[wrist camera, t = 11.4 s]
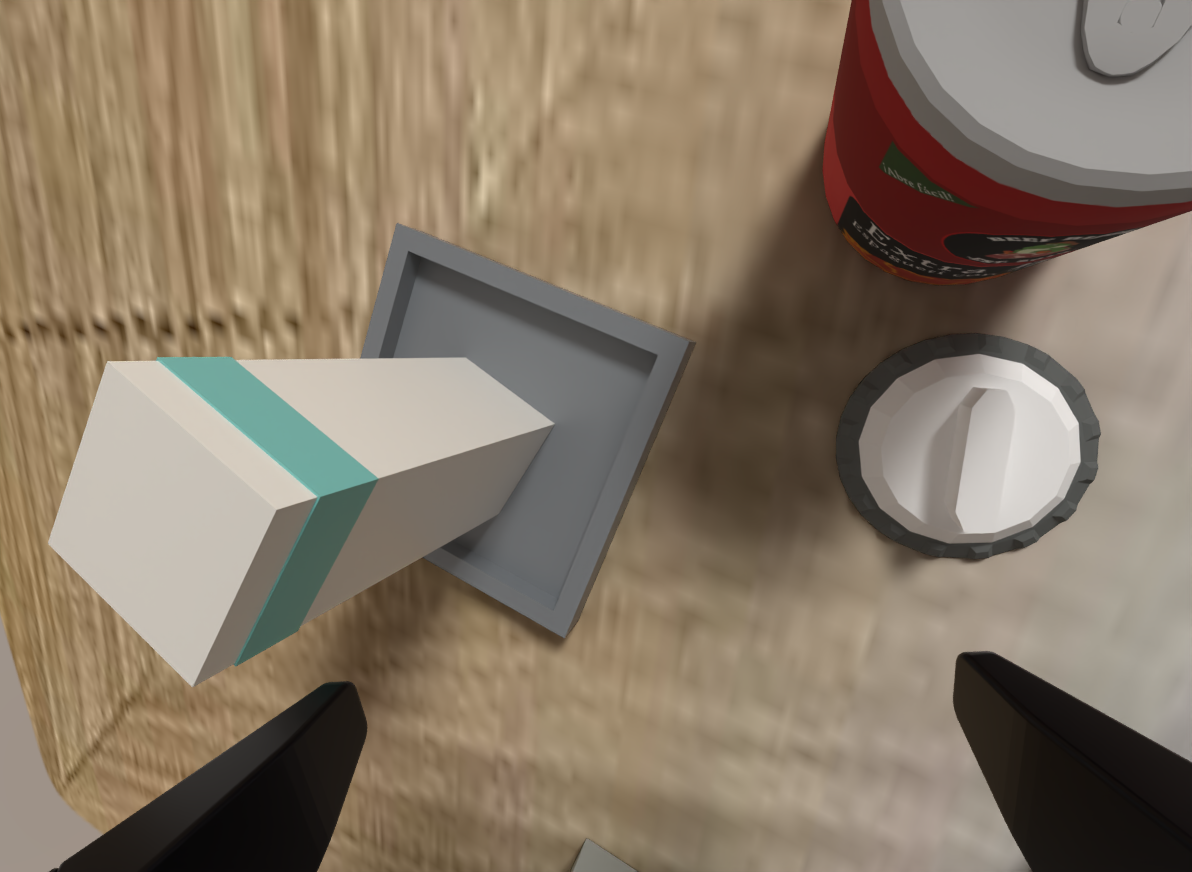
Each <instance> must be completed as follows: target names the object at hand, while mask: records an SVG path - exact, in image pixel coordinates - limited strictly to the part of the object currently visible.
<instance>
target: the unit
mask: <svg viewBox="0 0 1192 872" xmlns="http://www.w3.org/2000/svg"><path fill="white" fill-rule="evenodd" d="M570 872H638V871H636V870H635V869H633V868H632V867H630V866H629V865H627V864H625V863H624V862H622V861H621V860H619V859H618V858H616V857H615V856H613V855H612V854H610V853H609V852H607V851H606V850H604V849H603V848H601V847H600V846H598V845H597V844H595V843H593V842H592V841H590V840H589V839H587V838H586V840H585V842H584V844H583V846H582V848H581V851H580V853H579V855H578V857H577V859H576V861H575V863H574V865H573V867H572V869H571V871H570Z"/></svg>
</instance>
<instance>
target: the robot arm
mask: <svg viewBox="0 0 1192 872" xmlns="http://www.w3.org/2000/svg"><path fill="white" fill-rule="evenodd" d="M953 704H954V710H955V713H956V716H957V719H958V721H959V723H960V725H961V727H962V730H963V732H964V734H965V736H966V738H967V740H968V742H969V745H970V747H971V749H972V751H973V753H974V755H975V758H976V760H977V762H978V764H979V766H980V768H981V770H982V773H983V775H984V777H985V779H986V781H987V783H988V786H989V788H990V790H991V792H992V794H993V796H994V799H995V801H996V803H997V805H998V807H999V809H1000V811H1001V814H1002V816H1003V818H1004V820H1005V822H1006V824H1007V826H1008V828H1009V830H1010V832H1011V834H1012V836H1013V838H1014V839H1015V841H1016V843H1017V845H1018V847H1019V848H1020V850H1021V852H1022V854H1023V856H1024V857H1025V859H1026V861H1027V863H1028V864H1029V866H1030V868H1031V869H1032V871H1033V872H1192V762H1190V761H1189V760H1187V759H1185V758H1183V757H1181V756H1180V755H1178V754H1176V753H1174V752H1172V751H1171V750H1169V749H1167V748H1165V747H1163V746H1162V745H1160V744H1158V743H1156V742H1154V741H1153V740H1151V739H1149V738H1147V737H1145V736H1144V735H1142V734H1140V733H1138V732H1136V731H1135V730H1133V729H1131V728H1129V727H1127V726H1126V725H1124V724H1122V723H1120V722H1118V721H1117V720H1115V719H1113V718H1111V717H1109V716H1108V715H1106V714H1104V713H1102V712H1100V711H1099V710H1097V709H1095V708H1093V707H1091V706H1090V705H1088V704H1086V703H1084V702H1082V701H1081V700H1079V699H1077V698H1075V697H1073V696H1072V695H1070V694H1068V693H1066V692H1064V691H1063V690H1061V689H1059V688H1057V687H1055V686H1054V685H1052V684H1050V683H1048V682H1046V681H1045V680H1043V679H1041V678H1039V677H1037V676H1036V675H1034V674H1032V673H1030V672H1028V671H1027V670H1025V669H1023V668H1021V667H1019V666H1018V665H1016V664H1014V663H1012V662H1010V661H1009V660H1007V659H1005V658H1003V657H1001V656H1000V655H998V654H996V653H993V652H990V651H979V652H963V653H961V654H959V655H958V657H957V660H956V667H955V680H954V692H953ZM366 735H367V721H366V717H365V714H364V711H363V708H362V705H361V701H360V698H359V695H358V692H357V689H356V687H355V685H354V684H353V683H352V682H349V681H343V682H328V683H325V684H323V685H321V686H320V687H319V688H317V689H316V690H314V691H313V692H311V693H310V694H308V695H307V696H305V697H304V698H302V699H301V700H300V701H298V702H297V703H295V704H294V705H292V706H291V707H289V708H288V709H286V710H285V711H283V712H282V713H281V714H279V715H278V716H276V717H275V718H273V719H272V720H270V721H269V722H267V723H266V724H264V725H263V726H262V727H260V728H259V729H257V730H256V731H254V732H253V733H251V734H250V735H248V736H247V737H245V738H244V739H243V740H241V741H240V742H238V743H237V744H235V745H234V746H232V747H231V748H229V749H228V750H226V751H225V752H223V753H222V754H221V755H219V756H218V757H216V758H215V759H213V760H212V761H210V762H209V763H207V764H206V765H204V766H203V767H202V768H200V769H199V770H197V771H196V772H194V773H193V774H191V775H190V776H188V777H187V778H185V779H184V780H183V781H181V782H180V783H178V784H177V785H175V786H174V787H172V788H171V789H169V790H168V791H166V792H165V793H164V794H162V795H161V796H159V797H158V798H156V799H155V800H153V801H152V802H150V803H149V804H147V805H146V806H145V807H143V808H142V809H140V810H139V811H137V812H136V813H134V814H133V815H131V816H130V817H128V818H127V819H126V820H124V821H123V822H121V823H120V824H118V825H117V826H115V827H114V828H112V829H111V830H109V831H108V832H106V833H105V834H104V835H102V836H101V837H100V838H98V839H97V840H95V841H93V842H92V843H90V844H89V845H88V846H86V847H85V848H83V849H82V850H80V851H79V852H77V853H76V854H74V855H73V856H71V857H70V858H68V859H67V860H66V861H64V862H63V863H62V864H61V865H60V867H59V868H54V869H52V870H51V871H50V872H317V871H318V868H319V866H320V864H321V862H322V859H323V857H324V854H325V852H326V850H327V847H328V845H329V843H330V840H331V837H332V835H333V832H334V829H335V827H336V824H337V821H338V818H339V815H340V812H341V809H342V806H343V803H344V801H345V798H346V795H347V792H348V789H349V786H350V783H351V780H352V777H353V774H354V771H355V768H356V766H357V763H358V760H359V757H360V754H361V751H362V748H363V745H364V742H365V739H366Z"/></svg>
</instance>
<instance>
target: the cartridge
mask: <svg viewBox="0 0 1192 872" xmlns="http://www.w3.org/2000/svg"><path fill="white" fill-rule="evenodd" d="M554 425H555V424H554V423H553V422H552V421H550V420H549V419H548V418H546V417H545V416H544V415H542V414H541V413H540V412H538V411H537V410H536V409H534V408H533V407H532V406H530V405H529V404H527V403H526V402H525V401H523V400H522V399H521V398H519V397H518V396H517V395H515V394H514V393H513V392H511V391H510V390H509V389H507V388H506V387H505V386H503V385H502V384H501V383H499V382H498V381H497V380H495V379H494V378H493V377H491V376H490V375H489V374H487V373H486V372H485V371H483V370H482V369H480V368H479V367H478V366H476V365H475V364H474V363H472V362H471V361H470V360H468V359H467V358H377V359H287V360H234V359H233V358H232V357H157V360H156V361H107V364H106V367H105V370H104V373H103V376H102V379H101V382H100V385H99V388H98V392H97V395H96V398H95V401H94V404H93V407H92V410H91V413H90V416H89V419H88V422H87V425H86V428H85V431H84V434H83V437H82V441H81V444H80V447H79V450H78V453H77V456H76V459H75V462H74V465H73V468H72V471H71V474H70V477H69V480H68V483H67V486H66V490H65V493H64V496H63V499H62V502H61V505H60V508H59V511H58V514H57V517H56V520H55V523H54V526H53V529H52V532H51V535H50V539H49V542H48V544H49V545H50V546H51V547H52V548H53V549H54V550H55V551H56V552H57V553H58V554H59V555H60V556H61V557H62V558H63V559H64V560H65V561H66V562H67V563H68V564H69V565H70V566H71V567H72V568H73V569H74V570H75V571H76V572H77V573H78V574H79V575H80V576H81V577H82V578H83V579H84V580H85V581H86V582H87V583H88V584H89V585H90V586H91V587H92V588H93V589H94V590H95V591H96V592H97V593H98V594H99V595H100V596H101V597H102V598H103V599H104V600H105V601H106V602H107V603H108V604H109V605H110V606H111V607H112V608H113V609H114V610H115V611H116V612H117V613H118V614H119V615H120V616H121V617H122V618H123V619H124V620H125V621H126V622H127V623H128V624H129V625H130V626H131V627H132V628H133V629H134V630H135V631H136V632H137V633H138V634H139V635H140V636H141V637H142V638H143V639H144V640H145V641H146V642H147V643H148V644H149V645H150V646H151V647H152V648H153V649H154V650H155V651H156V652H157V653H158V654H159V655H160V656H161V657H162V658H163V659H164V660H165V661H166V662H167V663H168V664H169V665H170V666H171V667H172V668H173V669H174V670H175V671H176V672H178V673H179V674H180V675H181V676H182V677H183V678H184V679H185V680H186V681H187V682H188V683H189V684H190V685H191V686H192V687H194V686H196V685H198V684H199V683H201V682H203V681H205V680H206V679H208V678H210V677H212V676H213V675H215V674H217V673H219V672H221V671H222V670H224V669H226V668H228V667H229V666H231V665H233V664H234V665H235V666H238V665H239V664H241V663H243V662H245V661H246V660H248V659H250V658H252V657H253V656H255V655H257V654H259V653H260V652H262V651H264V650H266V649H267V648H269V647H271V646H273V645H274V644H276V643H278V642H280V641H281V640H283V639H285V638H287V637H288V636H290V635H292V634H293V633H295V632H297V631H298V630H299V628H300V626H302V625H304V624H305V623H307V622H309V621H311V620H312V619H314V618H316V617H318V616H319V615H321V614H323V613H325V612H327V611H328V610H330V609H332V608H334V607H335V606H337V605H339V604H341V603H342V602H344V601H346V600H348V599H350V598H351V597H353V596H355V595H357V594H358V593H360V592H362V591H364V590H365V589H367V588H369V587H371V586H373V585H374V584H376V583H378V582H380V581H381V580H383V579H385V578H387V577H388V576H390V575H392V574H394V573H395V572H397V571H399V570H401V569H403V568H404V567H406V566H408V565H410V564H411V563H413V562H415V561H417V560H418V559H420V558H422V557H424V556H426V555H427V554H429V553H431V552H433V551H434V550H436V549H438V548H440V547H441V546H443V545H445V544H447V543H448V542H450V541H452V540H454V539H456V538H457V537H459V536H461V535H463V534H464V533H466V532H468V531H470V530H471V529H473V528H475V527H477V526H479V525H480V524H482V523H484V522H486V521H487V520H489V519H491V518H493V517H494V516H496V515H498V514H499V513H500V511H501V509H502V508H503V506H504V505H505V503H506V501H507V500H508V498H509V497H510V495H511V493H512V492H513V490H514V489H515V487H516V485H517V484H518V482H519V481H520V479H521V477H522V476H523V474H524V473H525V471H526V469H527V468H528V466H529V465H530V463H531V461H532V460H533V458H534V457H535V455H536V453H537V452H538V450H539V449H540V447H541V445H542V444H543V442H544V441H545V439H546V437H547V436H548V434H549V433H550V431H551V429H552V428H553V426H554Z"/></svg>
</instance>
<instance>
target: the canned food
mask: <svg viewBox="0 0 1192 872" xmlns="http://www.w3.org/2000/svg"><path fill="white" fill-rule="evenodd" d="M823 177H824V186H825V194H826V198H827V201H828V204H829V207H830V210H831V213H832V216H833V218H834V221H835V222H836V224H837V225H838V227H839V229H840V230H841V232H842V234H843V235H844V237H845V238H846V240H847V241H848V242H849V243H850V244H851V245H852V246H853V247H854V248H855V249H856V250H857V251H858V253H859V254H860V255H861V256H862V257H863V258H865V259H866V260H868V261H869V262H871V263H872V264H874V265H875V266H877V267H879V268H880V269H882V270H883V271H885V272H887V273H890V274H893V275H895V276H898V277H901V278H903V279H906V280H909V281H914V282H920V283H927V284H933V285H954V284H969V283H974V282H978V281H983V280H987V279H992V278H996V277H999V276H1002V275H1005V274H1008V273H1011V272H1014V271H1017V270H1020V269H1023V268H1026V267H1029V266H1032V265H1035V264H1037V263H1040V262H1043V261H1046V260H1049V259H1052V258H1055V257H1058V256H1061V255H1064V254H1067V253H1070V252H1073V251H1075V250H1078V249H1081V248H1084V247H1087V246H1090V245H1093V244H1096V243H1099V242H1102V241H1105V240H1108V239H1111V238H1114V237H1116V236H1119V235H1122V234H1125V233H1128V232H1131V231H1134V230H1137V229H1140V228H1143V227H1146V226H1149V225H1152V224H1154V223H1157V222H1160V221H1163V220H1166V219H1169V218H1172V217H1175V216H1178V215H1181V214H1184V213H1187V212H1190V211H1192V0H852V2H851V7H850V12H849V18H848V23H847V28H846V33H845V39H844V44H843V49H842V54H841V60H840V65H839V70H838V75H837V81H836V86H835V91H834V96H833V102H832V107H831V112H830V117H829V123H828V128H827V133H826V138H825V145H824V158H823Z"/></svg>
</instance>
